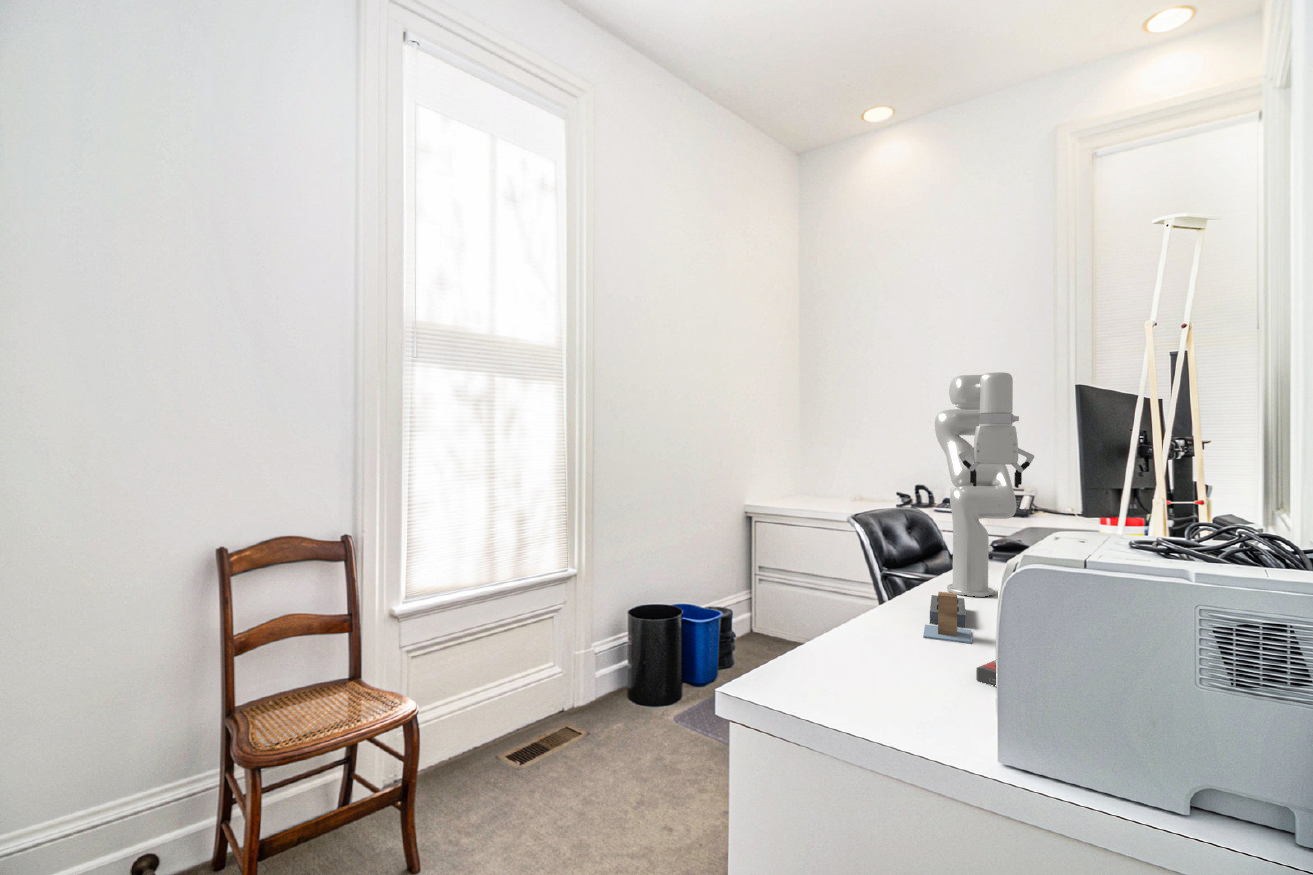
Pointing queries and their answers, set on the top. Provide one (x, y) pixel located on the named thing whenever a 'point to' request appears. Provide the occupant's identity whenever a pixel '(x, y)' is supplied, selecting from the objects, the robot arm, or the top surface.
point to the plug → (947, 613)
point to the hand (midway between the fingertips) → (995, 486)
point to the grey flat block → (960, 611)
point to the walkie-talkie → (987, 673)
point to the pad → (962, 635)
